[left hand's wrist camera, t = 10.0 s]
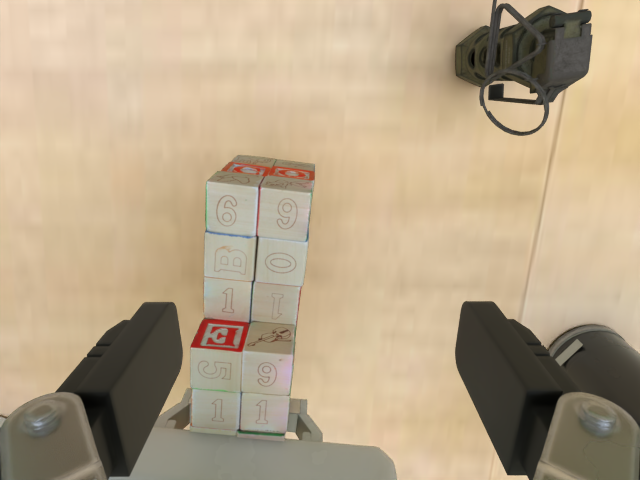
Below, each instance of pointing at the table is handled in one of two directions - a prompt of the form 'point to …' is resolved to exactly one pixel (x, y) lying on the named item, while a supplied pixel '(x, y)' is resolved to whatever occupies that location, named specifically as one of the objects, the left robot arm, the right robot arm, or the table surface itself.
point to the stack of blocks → (250, 297)
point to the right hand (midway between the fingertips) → (248, 400)
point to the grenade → (527, 55)
